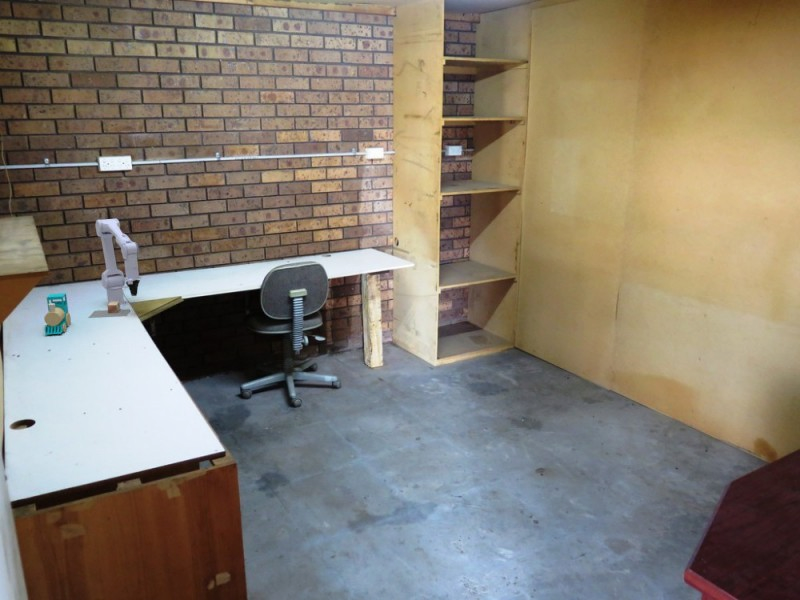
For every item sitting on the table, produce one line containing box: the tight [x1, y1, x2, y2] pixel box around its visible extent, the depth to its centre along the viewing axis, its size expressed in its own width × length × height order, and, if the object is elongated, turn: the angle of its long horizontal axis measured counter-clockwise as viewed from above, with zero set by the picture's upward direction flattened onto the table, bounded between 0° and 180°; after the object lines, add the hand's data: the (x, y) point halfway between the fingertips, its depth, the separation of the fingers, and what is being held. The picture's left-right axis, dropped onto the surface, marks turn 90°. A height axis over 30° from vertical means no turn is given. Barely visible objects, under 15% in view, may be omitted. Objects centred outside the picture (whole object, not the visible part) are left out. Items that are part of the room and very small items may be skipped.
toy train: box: [43, 292, 72, 336], centre depth 272 cm, size 8×17×15 cm, turn 16°
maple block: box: [106, 301, 121, 313], centre depth 303 cm, size 4×4×8 cm
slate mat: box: [87, 308, 131, 319], centre depth 300 cm, size 13×17×1 cm
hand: (134, 295), depth 298 cm, fingers closed
